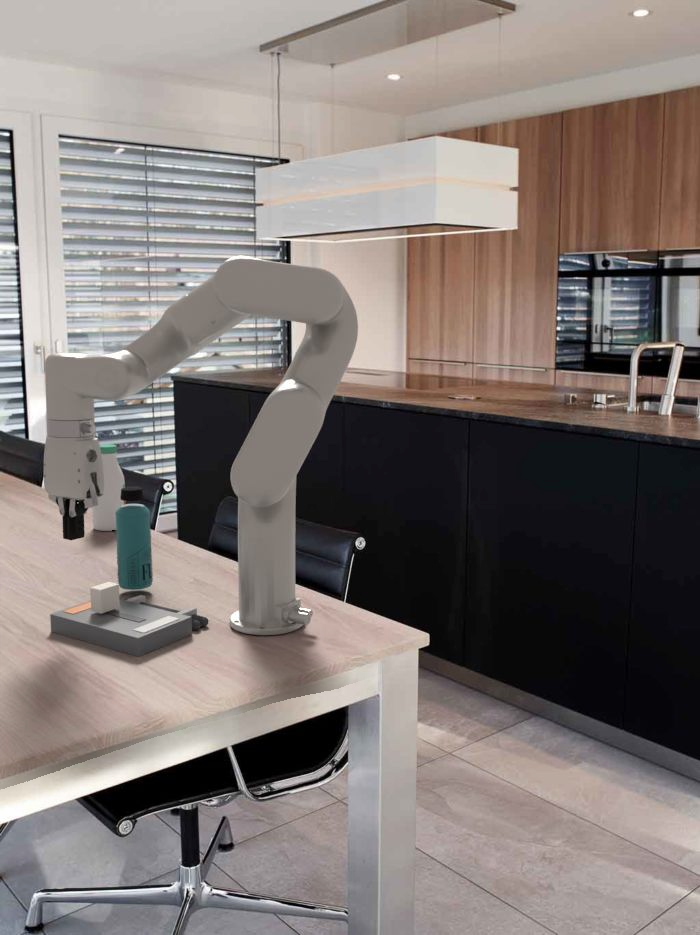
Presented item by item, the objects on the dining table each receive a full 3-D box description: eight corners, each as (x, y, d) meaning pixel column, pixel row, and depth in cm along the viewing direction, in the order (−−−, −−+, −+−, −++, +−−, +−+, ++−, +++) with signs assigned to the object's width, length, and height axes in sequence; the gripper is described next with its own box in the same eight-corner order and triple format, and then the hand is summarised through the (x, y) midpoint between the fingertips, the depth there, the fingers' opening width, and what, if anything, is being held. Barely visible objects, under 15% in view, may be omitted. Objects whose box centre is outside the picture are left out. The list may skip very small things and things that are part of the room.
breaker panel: (192, 634, 155) (191, 616, 155) (138, 656, 145) (138, 637, 145) (106, 612, 166) (105, 595, 165) (51, 631, 156) (50, 613, 156)
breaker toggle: (119, 607, 158) (118, 584, 157) (101, 613, 155) (100, 590, 154) (109, 604, 159) (108, 581, 159) (91, 611, 156) (90, 587, 155)
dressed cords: (211, 625, 160) (211, 611, 159) (195, 632, 156) (195, 618, 156) (128, 604, 170) (127, 591, 170) (111, 610, 167) (110, 597, 166)
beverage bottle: (145, 599, 173) (141, 491, 170) (111, 596, 175) (107, 490, 171) (159, 588, 180) (156, 485, 176) (126, 586, 181) (122, 483, 178)
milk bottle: (122, 532, 223) (119, 448, 220) (89, 531, 223) (85, 447, 220) (130, 524, 231) (127, 443, 227) (98, 524, 231) (95, 442, 227)
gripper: (120, 431, 154) (122, 540, 158) (58, 423, 162) (61, 527, 166) (84, 436, 148) (87, 550, 151) (21, 427, 156) (25, 535, 159)
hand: (73, 537), depth 158 cm, fingers closed
